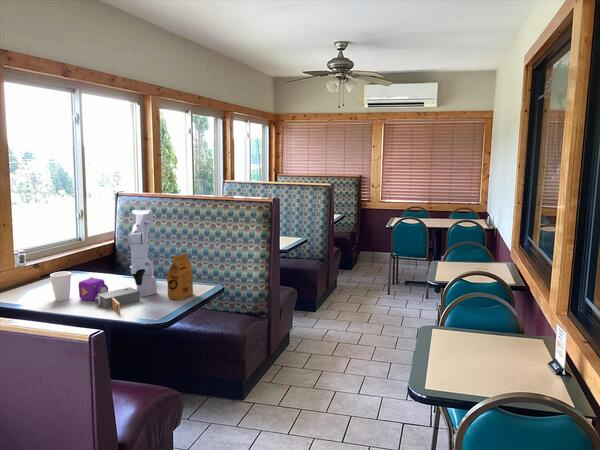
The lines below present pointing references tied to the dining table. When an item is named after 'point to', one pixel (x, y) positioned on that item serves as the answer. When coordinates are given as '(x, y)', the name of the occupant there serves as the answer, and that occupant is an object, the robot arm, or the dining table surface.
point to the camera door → (116, 305)
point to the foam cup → (61, 285)
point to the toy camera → (91, 288)
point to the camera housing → (118, 297)
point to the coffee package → (180, 278)
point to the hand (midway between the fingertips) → (139, 284)
